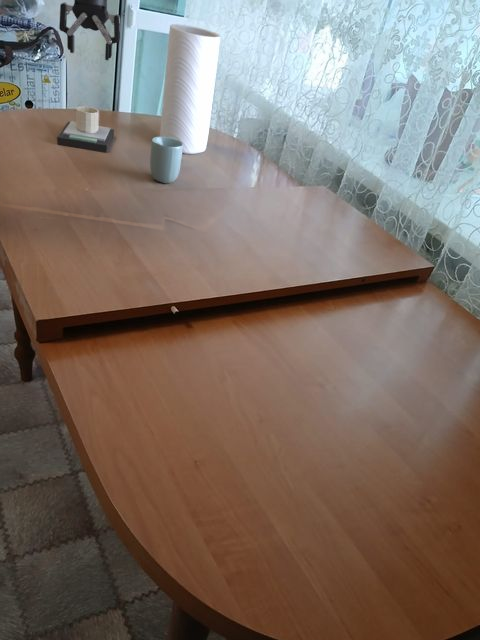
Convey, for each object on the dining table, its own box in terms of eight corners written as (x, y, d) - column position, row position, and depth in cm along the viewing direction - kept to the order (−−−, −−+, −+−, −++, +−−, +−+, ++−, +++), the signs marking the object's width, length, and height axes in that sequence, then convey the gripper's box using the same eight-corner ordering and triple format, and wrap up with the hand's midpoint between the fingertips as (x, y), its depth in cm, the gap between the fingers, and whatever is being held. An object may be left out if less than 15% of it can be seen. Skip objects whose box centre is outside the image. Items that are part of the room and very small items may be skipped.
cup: (170, 188, 139) (174, 149, 133) (143, 179, 140) (146, 140, 134) (183, 180, 145) (188, 142, 139) (157, 172, 146) (160, 134, 140)
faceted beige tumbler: (74, 131, 151) (74, 110, 148) (78, 124, 156) (78, 104, 153) (96, 135, 152) (97, 114, 149) (100, 128, 157) (100, 108, 154)
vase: (215, 152, 169) (232, 38, 150) (181, 157, 159) (194, 36, 140) (184, 136, 175) (196, 25, 156) (149, 140, 165) (157, 22, 147)
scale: (57, 144, 148) (57, 134, 146) (68, 128, 160) (68, 119, 158) (106, 152, 150) (106, 143, 149) (113, 136, 162) (114, 127, 160)
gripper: (56, -26, 124) (57, 52, 134) (120, -11, 127) (117, 64, 137) (62, -28, 130) (63, 47, 140) (123, -14, 133) (120, 59, 142)
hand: (89, 56), depth 138 cm, fingers open, 8 cm apart
